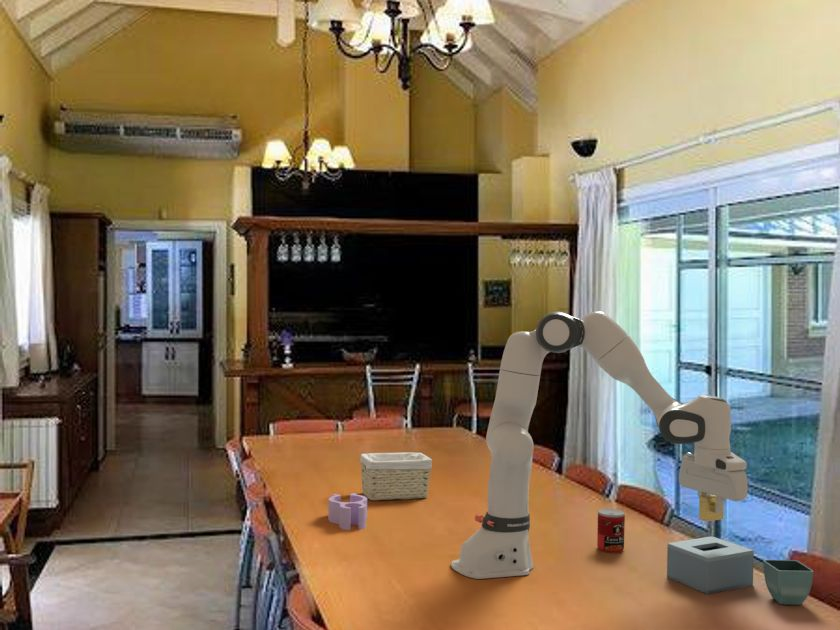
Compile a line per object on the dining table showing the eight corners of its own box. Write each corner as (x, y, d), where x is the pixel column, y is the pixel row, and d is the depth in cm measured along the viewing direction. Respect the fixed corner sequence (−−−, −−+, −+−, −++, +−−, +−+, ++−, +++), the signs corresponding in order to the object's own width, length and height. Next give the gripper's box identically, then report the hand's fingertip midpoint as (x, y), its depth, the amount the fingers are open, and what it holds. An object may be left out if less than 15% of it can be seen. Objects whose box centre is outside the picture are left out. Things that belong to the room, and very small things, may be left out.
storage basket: (420, 489, 320) (420, 450, 320) (432, 499, 305) (433, 458, 305) (358, 492, 314) (358, 453, 313) (368, 503, 298) (368, 461, 298)
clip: (374, 529, 265) (374, 507, 265) (334, 531, 262) (335, 509, 262) (362, 513, 284) (362, 492, 284) (325, 515, 281) (325, 494, 281)
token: (706, 521, 217) (706, 498, 217) (699, 519, 219) (699, 496, 219) (723, 519, 220) (723, 496, 220) (715, 516, 222) (716, 494, 222)
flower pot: (796, 595, 210) (797, 559, 210) (813, 608, 202) (814, 570, 201) (761, 595, 210) (762, 559, 210) (777, 608, 201) (778, 570, 201)
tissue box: (707, 594, 210) (708, 558, 210) (666, 577, 223) (667, 543, 222) (752, 585, 217) (753, 550, 217) (711, 569, 230) (711, 536, 230)
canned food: (605, 554, 242) (605, 515, 242) (592, 546, 250) (593, 509, 250) (629, 552, 244) (630, 514, 244) (615, 544, 252) (616, 507, 252)
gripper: (674, 452, 227) (672, 503, 227) (734, 465, 209) (733, 521, 209) (691, 450, 230) (690, 501, 230) (752, 463, 212) (751, 518, 212)
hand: (711, 511), depth 220 cm, fingers closed on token, 2 cm apart
